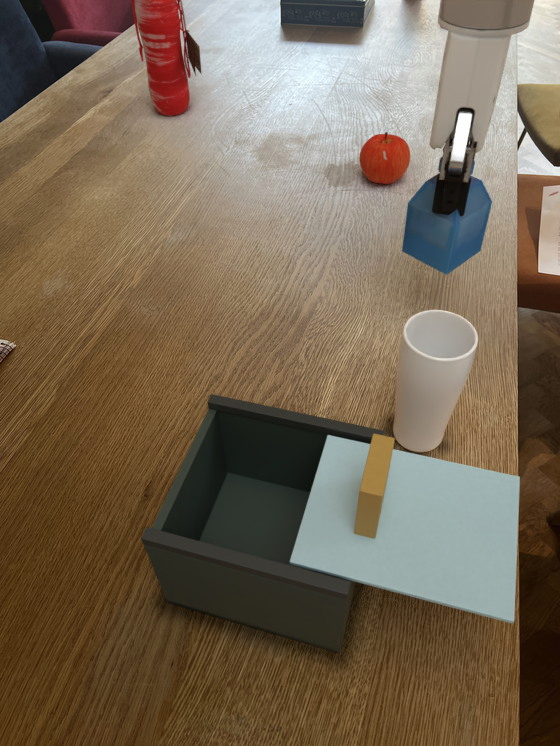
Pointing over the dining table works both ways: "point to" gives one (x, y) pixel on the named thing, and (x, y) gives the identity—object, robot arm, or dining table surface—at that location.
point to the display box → (250, 523)
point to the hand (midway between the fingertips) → (451, 195)
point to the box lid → (413, 526)
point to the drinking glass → (431, 376)
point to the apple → (384, 158)
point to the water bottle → (166, 53)
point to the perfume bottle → (446, 226)
